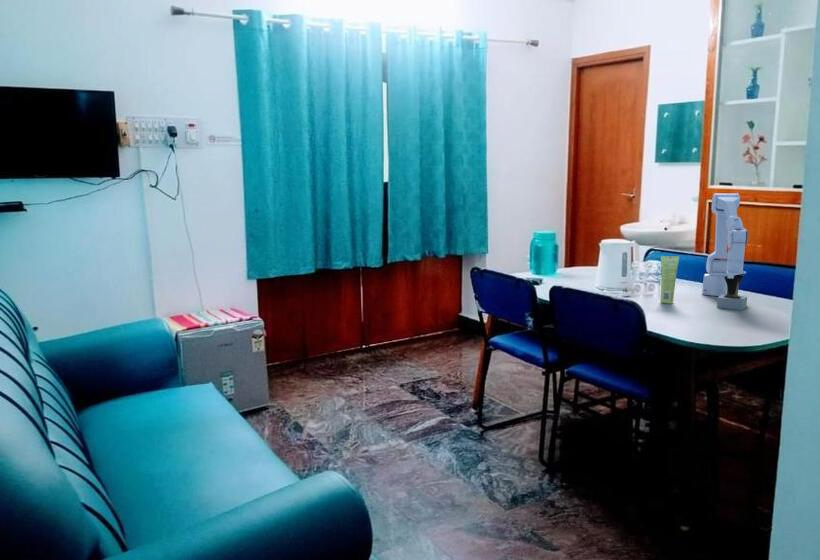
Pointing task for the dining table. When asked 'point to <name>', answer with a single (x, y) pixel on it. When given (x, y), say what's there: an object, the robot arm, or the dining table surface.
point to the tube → (668, 277)
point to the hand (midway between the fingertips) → (732, 293)
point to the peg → (733, 295)
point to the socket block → (732, 302)
